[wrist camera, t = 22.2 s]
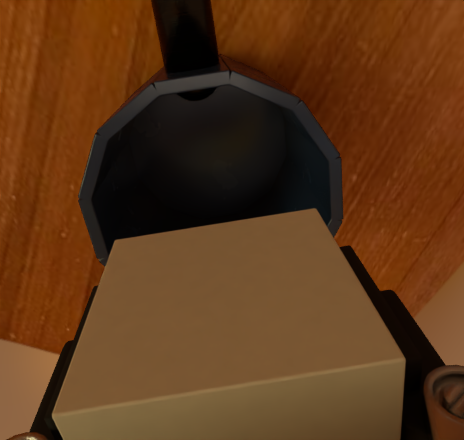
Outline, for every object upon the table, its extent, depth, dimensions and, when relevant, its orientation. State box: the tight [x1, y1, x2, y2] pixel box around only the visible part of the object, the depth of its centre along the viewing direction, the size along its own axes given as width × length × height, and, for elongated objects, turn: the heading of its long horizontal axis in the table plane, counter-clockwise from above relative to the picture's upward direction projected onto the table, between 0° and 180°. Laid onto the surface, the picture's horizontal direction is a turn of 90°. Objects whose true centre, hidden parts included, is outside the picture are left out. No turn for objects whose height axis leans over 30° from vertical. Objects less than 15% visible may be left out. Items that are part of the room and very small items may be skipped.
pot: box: [78, 0, 343, 266], centre depth 19 cm, size 10×10×18 cm
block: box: [52, 208, 406, 440], centre depth 9 cm, size 5×5×5 cm
